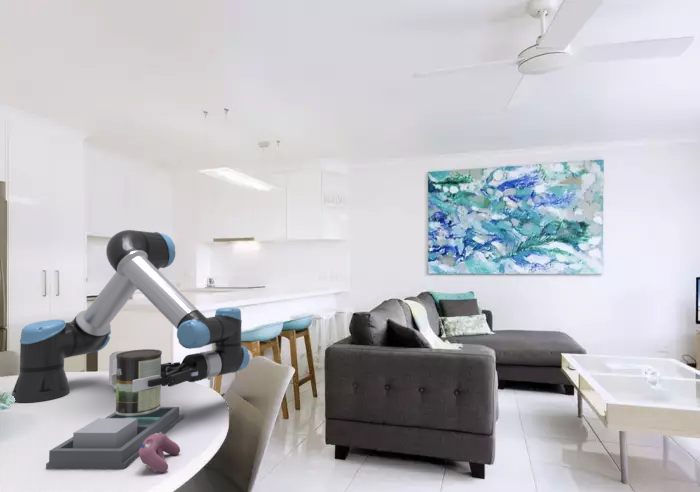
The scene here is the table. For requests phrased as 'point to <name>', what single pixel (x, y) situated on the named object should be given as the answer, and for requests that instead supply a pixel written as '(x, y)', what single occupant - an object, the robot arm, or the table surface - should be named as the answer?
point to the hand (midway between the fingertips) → (121, 383)
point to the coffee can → (131, 369)
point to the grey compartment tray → (111, 440)
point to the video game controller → (157, 451)
